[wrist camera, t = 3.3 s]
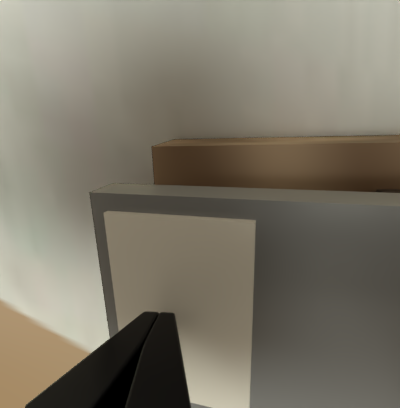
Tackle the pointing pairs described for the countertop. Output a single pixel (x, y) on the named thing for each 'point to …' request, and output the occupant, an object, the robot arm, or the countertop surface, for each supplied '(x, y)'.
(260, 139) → the switch base
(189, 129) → the countertop surface
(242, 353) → the grey flat panel
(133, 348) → the robot arm
